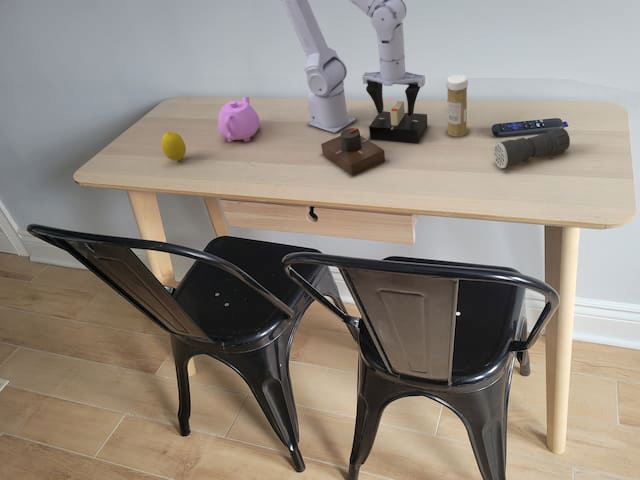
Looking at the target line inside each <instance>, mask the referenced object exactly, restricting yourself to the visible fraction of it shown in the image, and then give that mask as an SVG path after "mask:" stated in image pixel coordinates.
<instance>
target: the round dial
mask: <svg viewBox="0 0 640 480" xmlns="http://www.w3.org/2000/svg"><path fill="white" fill-rule="evenodd" d="M360 131H361V130H360V129H359V128H358V127H356V128H355V127H351V128H350V127H349V128H345V129H343V130H342V131H340V135H339V136H341V142H342V148H343V150H345V151H356V150H358V149H360V148H361V137H360V135H361V132H360Z"/></svg>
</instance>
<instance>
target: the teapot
mask: <svg viewBox="0 0 640 480" xmlns="http://www.w3.org/2000/svg"><path fill="white" fill-rule="evenodd" d="M260 125H261V120H260V117H259V115H258V113H257V111H256V110H255V109H254V107H252V105H251V104H250V97H249V96H243V97H242V100H230V101H229V102H227V103H225V104H224V105H223V106H222V107H221V108H220V111H219V114H218V119H217V127H218V132H219V134H220V136H222V137H223V138H225V139H227V142H233V141H234V140H235V141H236V140H237V141H238V140H242V141H243V142H245V143H246V142H249V141H251V137H253V136H254V135H256V133H257V132H258V130H259V128H260Z"/></svg>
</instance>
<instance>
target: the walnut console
mask: <svg viewBox="0 0 640 480" xmlns="http://www.w3.org/2000/svg"><path fill="white" fill-rule="evenodd" d="M360 137H361V148H360V149H358V150H356V151H345V150H343V148H342V142H341V135H339V136H337V137H334V138H332V139H329V140H327V141H325V142H323V143H321V144H320V147H321V153H322V156H323V157H325V158H326V159H328V160H329V161H330V162H332V163H333V164H335V166H337V167H338V168H340V169H341V170H343V171H345V173H347V174H349V175H350V176H351V177H354V176H356V175H359V174H361V173H363V172H365V171H368V170H370V169H372V168H374V167H376V166H379V165H381V164H383V163H385V162H386V153H385V149H384V148H382V147H380V146H379V145H377V144H375V143H374V142H373V141H370V140H369V139H367V138H366V137H364V136H363V135H362V134H360Z"/></svg>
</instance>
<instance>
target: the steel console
mask: <svg viewBox="0 0 640 480" xmlns="http://www.w3.org/2000/svg"><path fill="white" fill-rule="evenodd" d="M404 111H405V115H404V117H403V118H402V120H401V121H400V123H399V124H398V126H395V125H391V115H390V111H386V110H385V111H384V110H383V111H382V112H381V114H379V113H377V115H376V116H375V118H374V119H373V121H372V122H371V123H370V124H369V125H368V130H369V139H370V140H372V141H382V142H383V141H384V142H395V143H407V144H416V145H417V144H419V143H420V141H421V140H422V138H423V136H424V134H425V133H426V131H427V130H428V126H429V125H428V114H427V113H416V112H413V114H412V115H411V116H408V112H406V109H404ZM370 140H369V141H370Z"/></svg>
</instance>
